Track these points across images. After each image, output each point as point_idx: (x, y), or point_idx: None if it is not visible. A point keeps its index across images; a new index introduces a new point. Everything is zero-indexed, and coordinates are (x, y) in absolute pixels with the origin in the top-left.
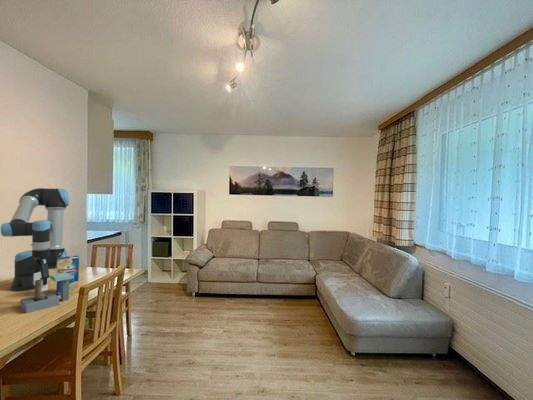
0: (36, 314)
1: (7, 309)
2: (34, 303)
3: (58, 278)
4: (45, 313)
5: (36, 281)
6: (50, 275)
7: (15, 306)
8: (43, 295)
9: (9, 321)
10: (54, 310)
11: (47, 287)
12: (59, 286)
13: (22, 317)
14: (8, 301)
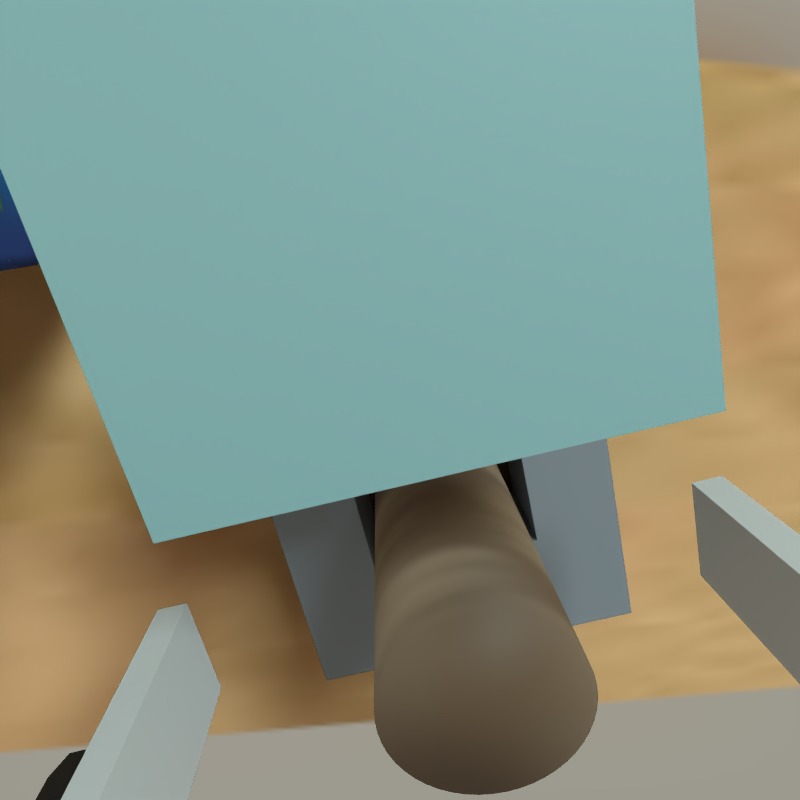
0: (709, 471)
1: (348, 704)
2: (616, 541)
3: (702, 316)
4: (749, 391)
5: (524, 770)
6: (194, 527)
7: (290, 653)
8: (497, 471)
9: (725, 663)
10: (720, 300)
11: (757, 506)
12: (11, 217)
13: (699, 580)
14: (64, 719)
